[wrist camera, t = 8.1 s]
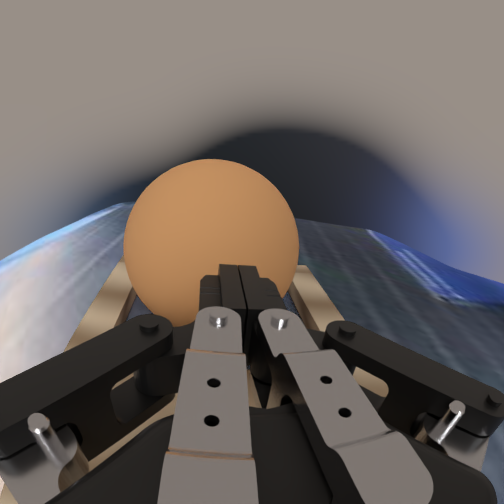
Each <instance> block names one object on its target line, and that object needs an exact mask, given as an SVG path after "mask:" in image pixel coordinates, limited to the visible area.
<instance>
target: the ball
mask: <svg viewBox="0 0 504 504" xmlns="http://www.w3.org/2000/svg"><path fill="white" fill-rule="evenodd" d="M298 255H299V240H298V231H297V227H296V223H295V220H294V217H293V214H292V212H291V210H290V208H289V206H288V204H287V202H286V200H285V199H284V198H283V196H282V195H281V193H280V192H279V191H278V189H277V188H275V186H274V185H273V184H272V183H271V182H269V181H268V180H267V179H266V178H265V177H264V176H262V175H261V174H259V173H258V172H256V171H254V170H252V169H250V168H248V167H246V166H244V165H241V164H239V163H235V162H231V161H226V160H217V159H205V160H197V161H192V162H188V163H185V164H182V165H179V166H176V167H174V168H172V169H170V170H169V171H167V172H165V173H164V174H162V175H161V176H159V177H158V178H157V179H156V180H154V181H153V182H152V183H151V184H150V185H149V186H148V187H147V188H146V189H145V190H144V191H143V193H142V194H141V196H140V197H139V199H138V200H137V201H136V203H135V205H134V207H133V209H132V211H131V213H130V216H129V218H128V221H127V225H126V229H125V235H124V260H125V266H126V270H127V273H128V276H129V279H130V282H131V284H132V286H133V288H134V290H135V292H136V293H137V295H138V296H139V298H140V299H141V301H142V302H143V303H144V304H145V305H146V306H147V308H148V309H149V310H150V311H151V312H152V313H153V314H154V315H160V316H163V317H165V318H167V319H168V320H169V321H170V322H171V323H172V325H173V327H178V326H184V325H187V324H190V323H192V322H193V321H194V320H195V319H196V315H197V313H198V312H199V294H200V280H201V279H202V278H203V277H204V276H205V275H218V268H219V264H231V265H237V266H238V265H249V266H256V268H257V270H258V273H259V276H260V278H269V279H270V280H271V281H273V282H274V283H275V284H276V286H277V289H278V292H279V293H280V295H281V296H280V297H281V298H283V297H284V296H285V294H286V292H287V290H288V289H289V287H290V285H291V283H292V281H293V278H294V275H295V271H296V268H297V263H298Z"/></svg>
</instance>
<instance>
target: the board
mask: <svg viewBox="0 0 504 504" xmlns="http://www.w3.org/2000/svg"><path fill="white" fill-rule="evenodd" d="M288 292H289V294H290V296H291V298H292V300H293V302H294V304H295V306H296V308H297V310H298V313H299V315H300V317H301V319H302V321H303V323H304V325H305V327H306V328H308V329H312V330H317V331H323V332H325V330H326V327H327V325H328V324H329V323H330V322H332V321H337V320H343V321H345V320H344V319H343V317H342V316H341V314H340V313H339V311H338V310H337V309H336V307H335V306H334V304H333V303H332V301H331V300H330V299H329V297H328V296H327V294H326V293H325V292H324V290H323V289H322V287H321V286H320V284H319V283H318V282H317V280H316V279H315V277H314V276H313V275H312V273H311V272H310V270H309V269H308V268H307V266H305V265H297V268H296V271H295V275H294V278H293V281H292V283H291V285H290V287H289V289H288ZM136 295H137V293H136V292H135V290H134V288H133V286H132V284H131V282H130V279H129V276H128V273H127V270H126V266H125V260H124V255H123V257H122V258H121V259H120V261H119V262H118V264H117V265H116V267H115V268H114V270H113V271H112V273H111V274H110V276H109V277H108V279H107V280H106V282H105V283H104V285H103V287H102V288H101V290H100V291H99V293H98V294H97V296H96V298H95V299H94V301H93V302H92V304H91V306H90V307H89V309H88V311H87V312H86V314H85V315H84V317H83V319H82V321H81V322H80V324H79V326H78V327H77V329H76V331H75V332H74V334H73V336H72V338H71V339H70V341H69V343H68V345H67V347H66V348H65V350H64V352H65V351H67V350H69V349H71V348H73V347H75V346H77V345H79V344H81V343H83V342H85V341H88V340H90V339H92V338H94V337H96V336H98V335H100V334H102V333H104V332H106V331H108V330H110V329H112V328H114V327H116V326H118V325H120V324H122V323H124V322H126V319H127V317H128V314H129V312H130V309H131V307H132V304H133V302H134V300H135V297H136ZM133 376H134V375H133V373H132V374H130V375H129V376H127V377H126V378H124V379H122V380H121V381H119V382H118V383H116V384H115V385H114V387H113V388H112V389H114V388H115V387H117V386H119V385H120V384H122V383H123V382H125V381H127V380H128V379H130V378H131V377H133ZM249 376H250V370H247V385H248V401H249V406H251V407H256V404H255V401H254V397H253V394H252V391H251V387H250V384H249ZM353 377H354V379H355V380H356V382H357V383H358V384H359V385H361V386H363V387H365V388H366V389H368V390H370V391H372V392H374V393H376V394H378V395H380V396H382V397H386V396H387V394H388V391H389V390H388V386H387V384H386V383H385V382H384V381H383V380H381V379H379V378H377V377H375V376H373V375H371V374H370V373H368V372H366V371H364V370H362V369H360V368H358V367H356V369H355V371H354V374H353ZM177 396H178V393H176V394H175V397H174V399H173V400H172V401H171V402H170V403H169V404H168V405H166V406H165V407H164V408H162V409H161V410H160V411H159V412H157V413H156V414H155V415H153V416H152V417H151V418H149V419H148V420H147V421H145V422H144V423H143V424H141V425H140V426H139V427H137V428H136V429H135V430H133V431H132V432H130V433H129V434H128V435H126V436H125V437H124V438H122V439H121V440H119V441H118V442H117V443H115V444H114V445H112V446H111V447H110V448H108V449H107V450H105V451H104V452H102V453H101V454H100V455H98V456H97V457H95V458H94V459H92V460H91V461H89V462H88V463H89V472H90V471H91V470H92V469H94V468H95V467H96V466H98V465H99V464H100V463H102V462H103V461H104V460H106V459H107V458H108V457H109V456H111V455H112V454H113V453H115V452H116V451H117V450H118V449H120V448H121V447H122V446H124V445H125V444H126V443H127V442H129V441H130V440H131V439H132V438H134V437H135V436H136V435H137V434H139V433H140V432H141V431H142V430H143V429H145V428H146V427H147V426H149V425H150V424H152V423H154V422H155V421H157V420H160V419H162V418H164V417H167V416H170V415H173V414H174V413H175V407H176V401H177ZM0 504H18V503H17V501H16V500H15V498H14V497H13V495H12V494H11V492H10V491H9V489H8V487H7V486H6V484H4V487H3V490H2V493H1V496H0Z"/></svg>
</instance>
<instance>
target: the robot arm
mask: <svg viewBox="0 0 504 504" xmlns="http://www.w3.org/2000/svg"><path fill="white" fill-rule="evenodd" d="M280 296H281V295H280V293H279V292H278V289H277V286H276V284H275V283H274V282H273V281H271V280H270V279H269V278H260V276H259V273H258V270H257V268H256V266H249V265H238V266H237V265H231V264H219V268H218V275H205V276H204V277H203V278H202V279H201V280H200V294H199V312H198V313H197V315H196V319H195V320H194V321H193V322H192V323H190V324H187V325H184V326H178V327H173V325H172V323H171V322H170V321H169V320H168V319H167V318H165V317H163V316H160V315H154V314H145V315H140V316H136V317H134V318H132V319H130V320H128V321H126V322H124V323H122V324H120V325H118V326H116V327H114V328H112V329H110V330H108V331H106V332H104V333H102V334H100V335H98V336H96V337H94V338H92V339H90V340H88V341H85V342H83V343H81V344H79V345H77V346H75V347H73V348H71V349H69V350H67V351H65V352H63V353H61V354H59V355H57V356H55V357H53V358H51V359H49V360H47V361H45V362H43V363H41V364H39V365H37V366H34V367H32V368H30V369H28V370H26V371H24V372H22V373H20V374H18V375H16V376H14V377H12V378H10V379H8V380H6V381H4V382H2V383H0V476H1V478H2V479H3V481H4V483H5V484H6V486H7V487H8V489H9V491H10V492H11V494H12V495H13V497H14V498H15V500H16V501H17V503H18V504H497V496H496V492H495V490H494V487H493V485H492V484H491V482H490V481H489V479H488V478H487V477H486V476H485V475H484V474H483V473H481V472H480V471H481V468H482V464H483V460H484V457H485V453H486V449H487V444H488V440H489V438H490V436H491V435H492V434H493V433H494V431H495V430H496V429H497V428H498V426H499V425H500V424H501V423H502V421H503V420H504V394H503V393H502V392H500V391H499V390H497V389H495V388H493V387H490V386H488V385H486V384H484V383H481V382H479V381H477V380H475V379H473V378H470V377H468V376H466V375H464V374H462V373H459V372H457V371H455V370H453V369H451V368H448V367H446V366H444V365H442V364H440V363H438V362H435V361H433V360H431V359H429V358H427V357H425V356H423V355H420V354H418V353H416V352H414V351H412V350H410V349H408V348H405V347H403V346H401V345H399V344H397V343H395V342H393V341H391V340H389V339H386V338H384V337H382V336H380V335H378V334H376V333H374V332H372V331H370V330H368V329H365V328H363V327H361V326H359V325H357V324H355V323H352V322H349V321H343V320H337V321H332V322H330V323H329V324H328V325H327V327H326V330H325V332H323V331H317V330H312V329H308V328H305V326H304V324H303V323H302V321H301V319H300V318H299V317H298V316H297V315H296V314H294V313H292V312H290V311H287V309H286V307H285V305H284V302H283V300H282V298H281V297H280ZM246 365H250V376H249V384H250V387H251V391H252V394H253V397H254V401H255V404H256V407H251V406H249V401H248V385H247V369H246ZM356 367H358V368H360V369H362V370H364V371H366V372H368V373H370V374H371V375H373V376H375V377H377V378H379V379H381V380H383V381H384V382H385V383H386V384H387V386H388V390H389V391H388V394H387V396H386V397H382V396H380V395H378V394H376V393H374V392H372V391H370V390H368V389H366V388H365V387H363V386H361V385H359V384H358V383H357V382H356V380H355V379H354V377H353V374H354V371H355V369H356ZM132 373H133V375H134V376H133V377H131V378H130V379H128V380H127V381H125V382H123V383H122V384H120V385H119V386H117V387H115V388H114V389H112V388H113V387H114V385H115V384H116V383H118V382H119V381H121V380H122V379H124V378H126V377H127V376H129V375H130V374H132ZM176 393H178V396H177V401H176V407H175V413H174V414H173V415H170V416H167V417H164V418H162V419H160V420H157V421H155V422H154V423H152V424H150V425H149V426H147V427H146V428H145V429H143V430H142V431H141V432H140V433H139V434H137V435H136V436H135V437H134V438H132V439H131V440H130V441H129V442H127V443H126V444H125V445H124V446H122V447H121V448H120V449H118V450H117V451H116V452H115V453H113V454H112V455H111V456H109V457H108V458H107V459H106V460H104V461H103V462H102V463H100V464H99V465H98V466H96V467H95V468H94V469H92V470H91V471H90V472H89V463H88V462H89V461H91V460H92V459H94V458H95V457H97V456H98V455H100V454H101V453H102V452H104V451H105V450H107V449H108V448H110V447H111V446H112V445H114V444H115V443H117V442H118V441H119V440H121V439H122V438H124V437H125V436H126V435H128V434H129V433H130V432H132V431H133V430H135V429H136V428H137V427H139V426H140V425H141V424H143V423H144V422H145V421H147V420H148V419H149V418H151V417H152V416H153V415H155V414H156V413H157V412H159V411H160V410H161V409H162V408H164V407H165V406H166V405H168V404H169V403H170V402H171V401H172V400H173V399H174V397H175V394H176Z"/></svg>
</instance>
